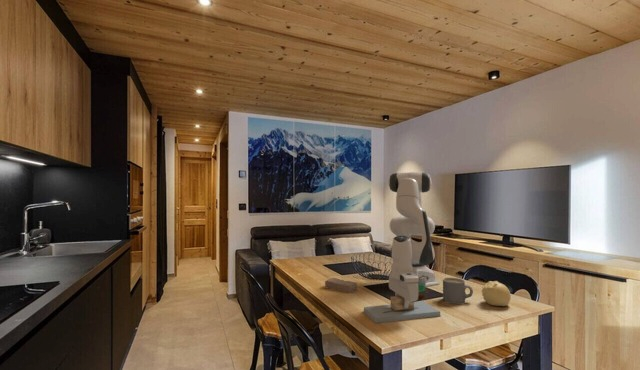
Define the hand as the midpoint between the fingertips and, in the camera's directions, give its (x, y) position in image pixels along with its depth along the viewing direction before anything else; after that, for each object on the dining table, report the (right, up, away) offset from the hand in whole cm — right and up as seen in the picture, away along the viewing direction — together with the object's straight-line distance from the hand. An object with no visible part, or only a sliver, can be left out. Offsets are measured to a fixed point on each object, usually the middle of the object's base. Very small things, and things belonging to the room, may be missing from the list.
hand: (402, 305), depth 139 cm
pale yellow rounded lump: (+48, -4, +12) cm, 49 cm away
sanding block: (0, -2, 0) cm, 2 cm away
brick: (-25, -5, +37) cm, 45 cm away
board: (-1, -4, 0) cm, 4 cm away
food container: (+14, -5, +22) cm, 27 cm away
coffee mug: (+31, -4, +16) cm, 35 cm away
